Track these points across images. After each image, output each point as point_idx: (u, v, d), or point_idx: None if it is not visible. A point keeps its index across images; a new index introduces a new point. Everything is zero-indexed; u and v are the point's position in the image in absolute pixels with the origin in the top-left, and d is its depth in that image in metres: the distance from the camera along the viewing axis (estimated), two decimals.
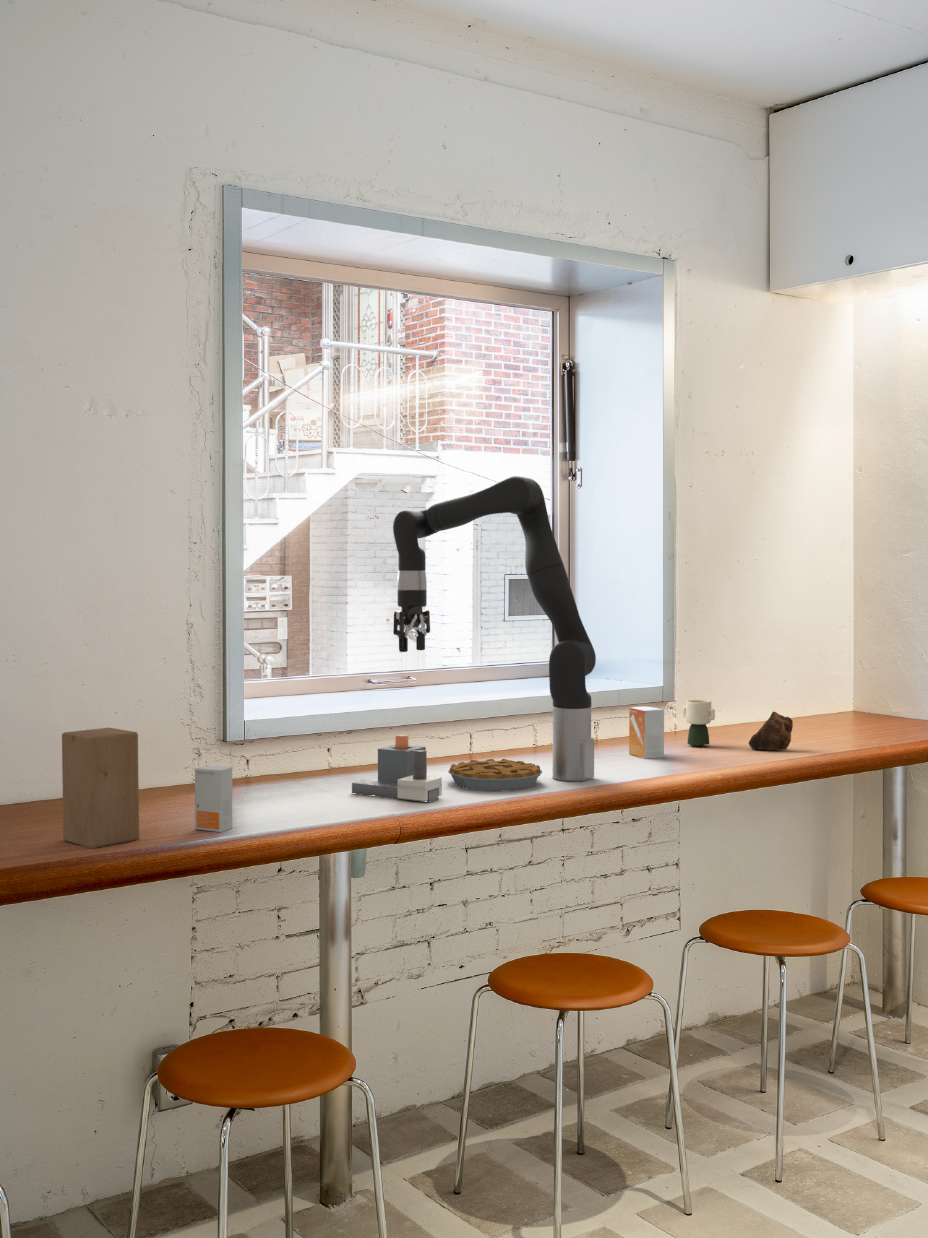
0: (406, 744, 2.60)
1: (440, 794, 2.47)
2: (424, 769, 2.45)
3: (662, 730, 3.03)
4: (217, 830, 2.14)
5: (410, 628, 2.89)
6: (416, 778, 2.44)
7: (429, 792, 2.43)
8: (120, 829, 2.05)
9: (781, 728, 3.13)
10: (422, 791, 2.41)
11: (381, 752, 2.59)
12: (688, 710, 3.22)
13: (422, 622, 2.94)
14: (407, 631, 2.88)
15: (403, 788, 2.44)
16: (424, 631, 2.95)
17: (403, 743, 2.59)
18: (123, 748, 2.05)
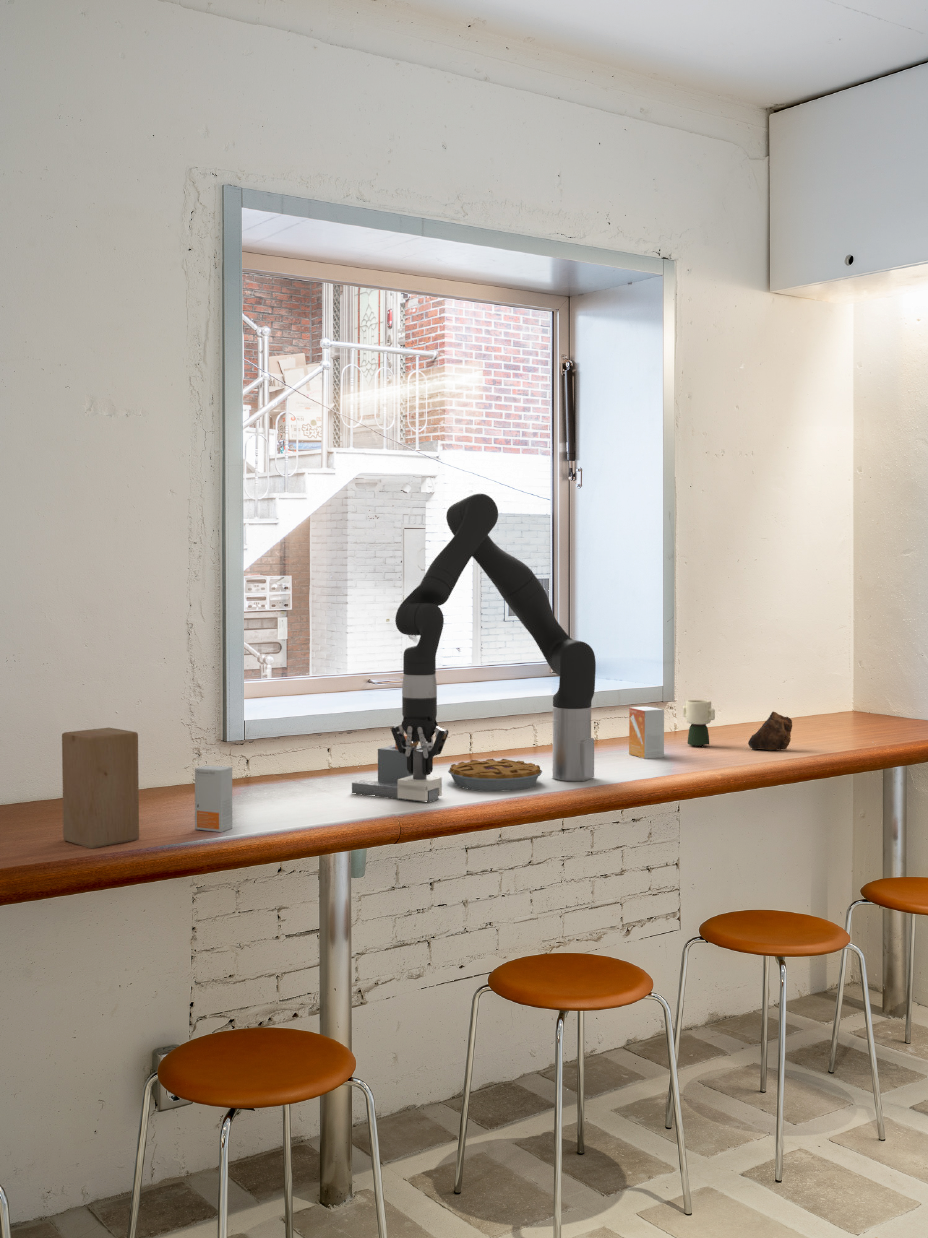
0: None
1: (440, 794, 2.47)
2: None
3: (661, 730, 3.03)
4: (217, 830, 2.14)
5: None
6: (416, 778, 2.44)
7: (429, 792, 2.43)
8: (120, 829, 2.05)
9: (780, 728, 3.14)
10: (422, 791, 2.41)
11: (381, 752, 2.59)
12: (688, 710, 3.22)
13: None
14: None
15: (403, 788, 2.44)
16: None
17: None
18: (123, 748, 2.05)
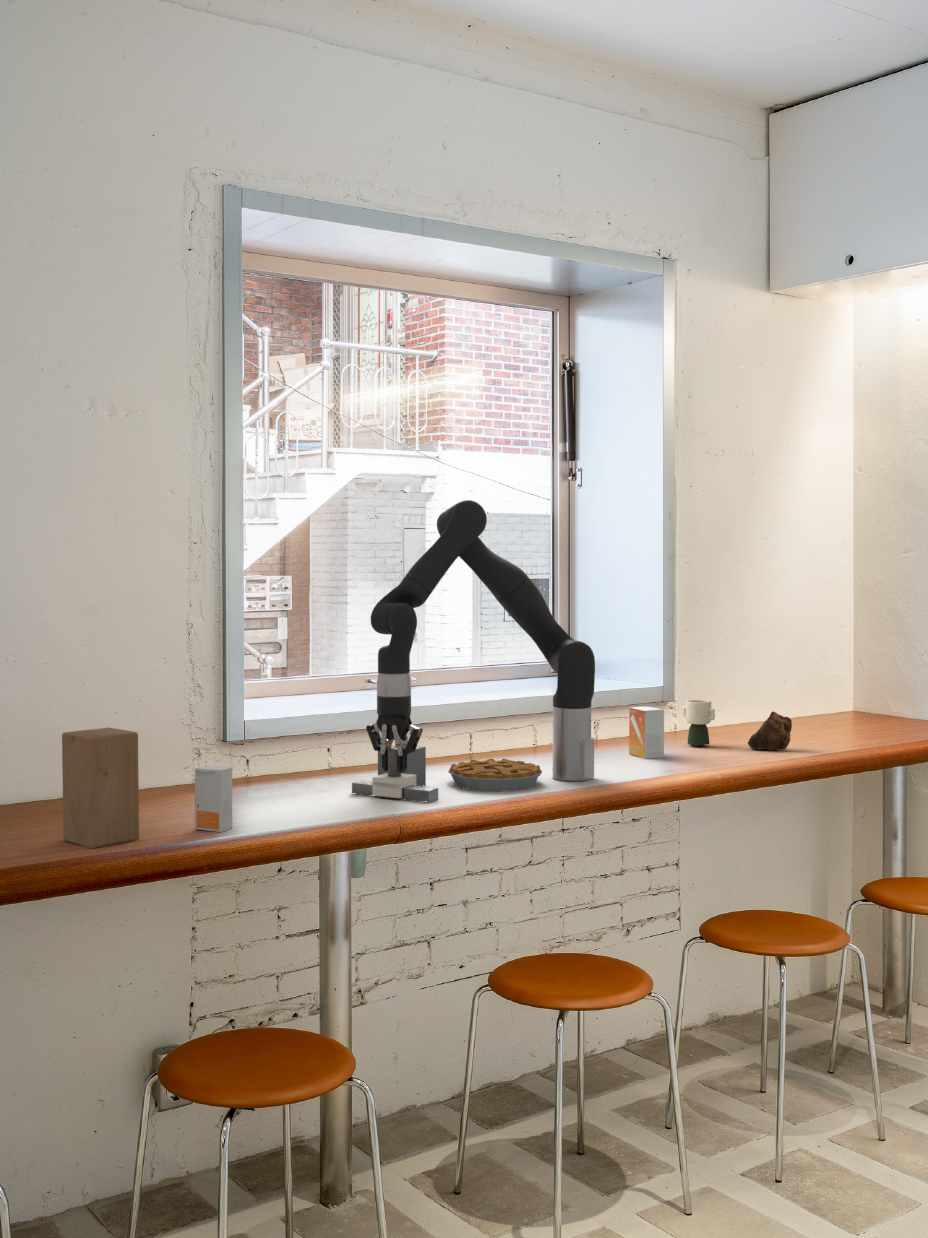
0: None
1: None
2: None
3: (661, 730, 3.03)
4: (217, 830, 2.14)
5: None
6: (391, 775, 2.48)
7: (429, 792, 2.43)
8: (120, 829, 2.05)
9: (780, 727, 3.14)
10: (396, 788, 2.45)
11: None
12: (688, 710, 3.22)
13: None
14: None
15: (378, 785, 2.47)
16: None
17: None
18: (124, 748, 2.05)
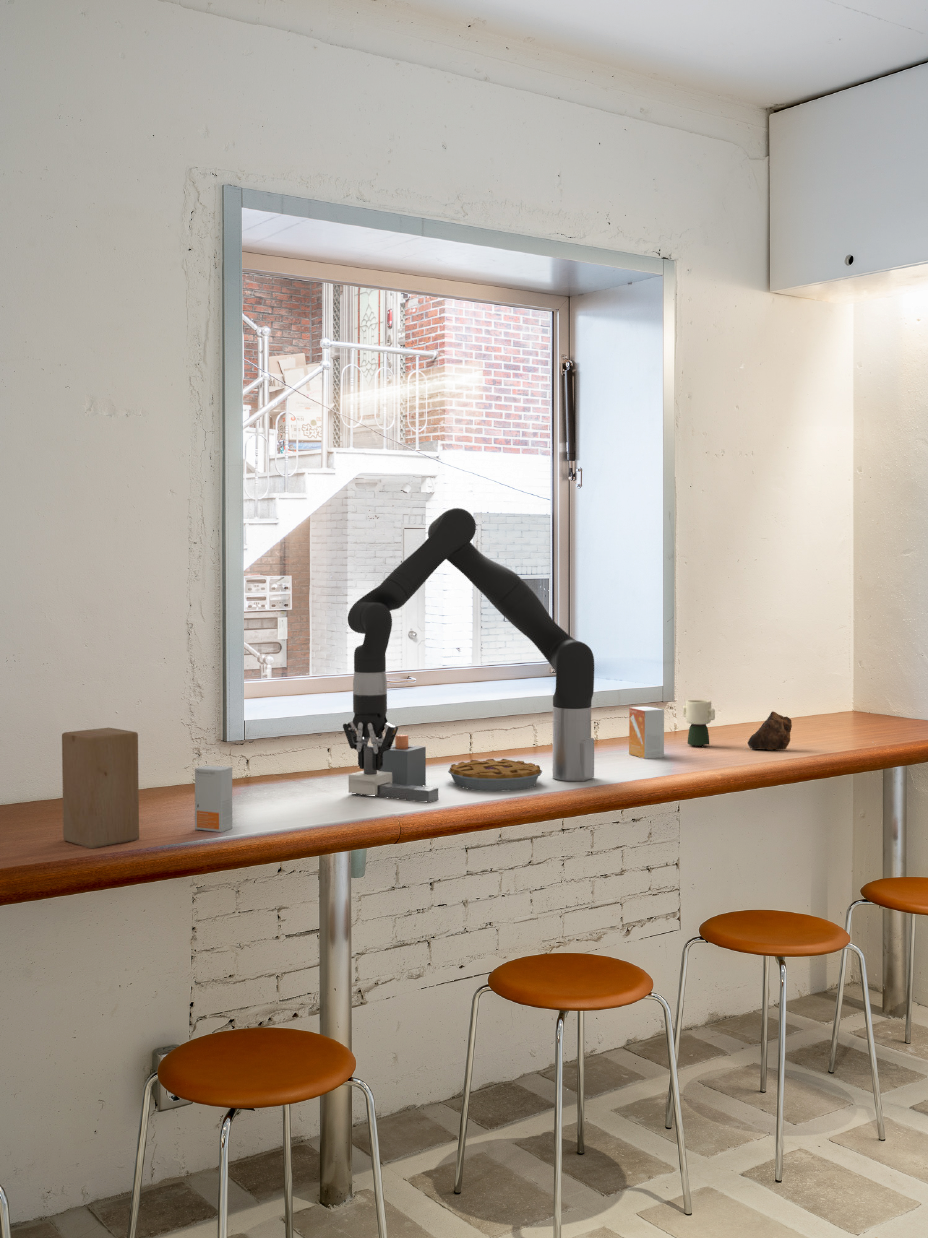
0: (406, 744, 2.60)
1: None
2: None
3: (662, 730, 3.03)
4: (217, 830, 2.14)
5: None
6: (367, 773, 2.51)
7: (429, 792, 2.43)
8: (120, 829, 2.05)
9: (780, 727, 3.14)
10: (372, 785, 2.48)
11: None
12: (688, 710, 3.22)
13: None
14: None
15: (354, 783, 2.50)
16: None
17: (403, 743, 2.59)
18: (123, 748, 2.05)
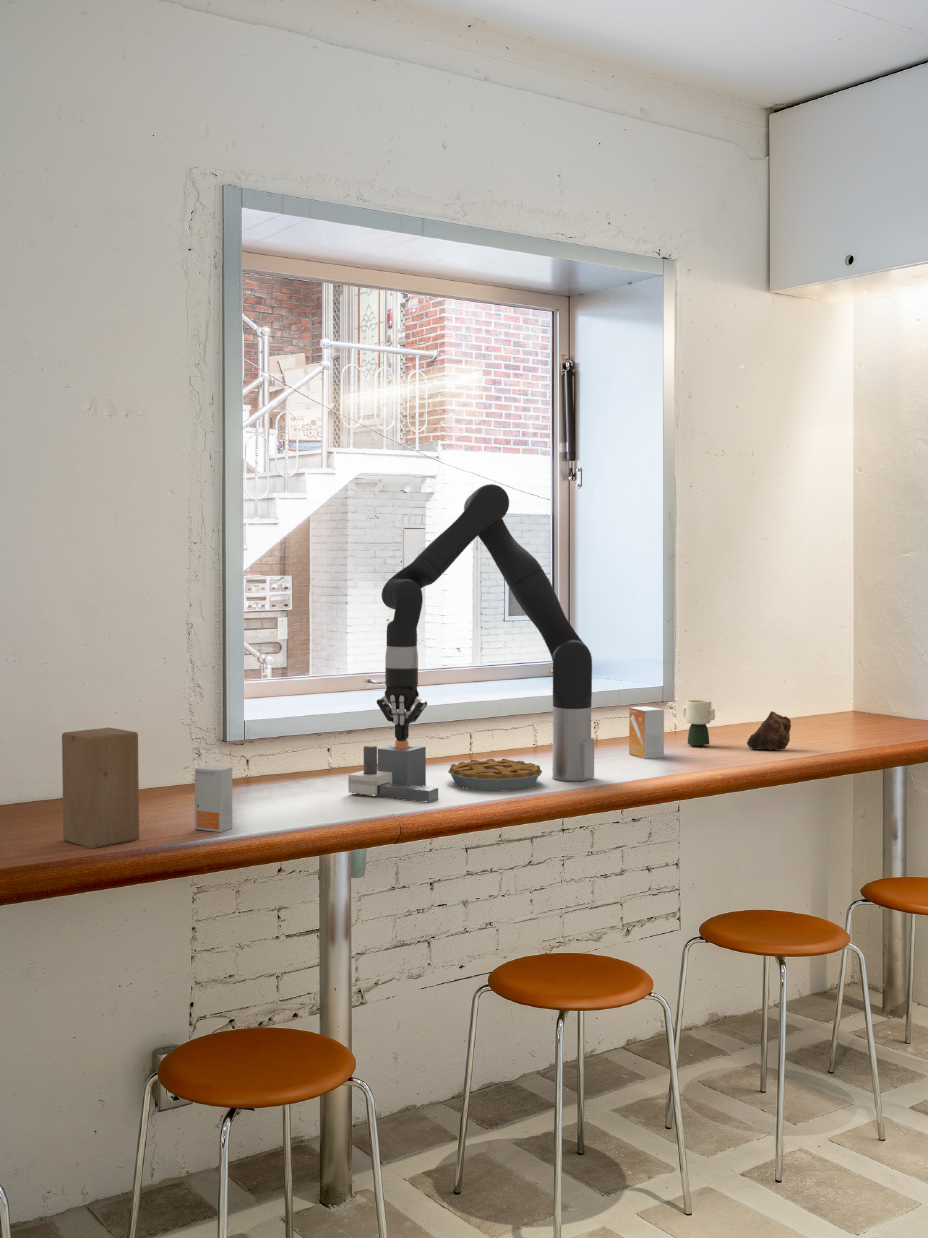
0: None
1: None
2: (374, 764, 2.51)
3: (662, 730, 3.03)
4: (217, 830, 2.14)
5: None
6: (366, 773, 2.51)
7: (429, 792, 2.43)
8: (120, 829, 2.05)
9: (779, 727, 3.14)
10: (372, 785, 2.48)
11: (381, 752, 2.59)
12: (688, 710, 3.22)
13: None
14: None
15: (354, 783, 2.50)
16: None
17: (403, 748, 2.59)
18: (123, 748, 2.05)
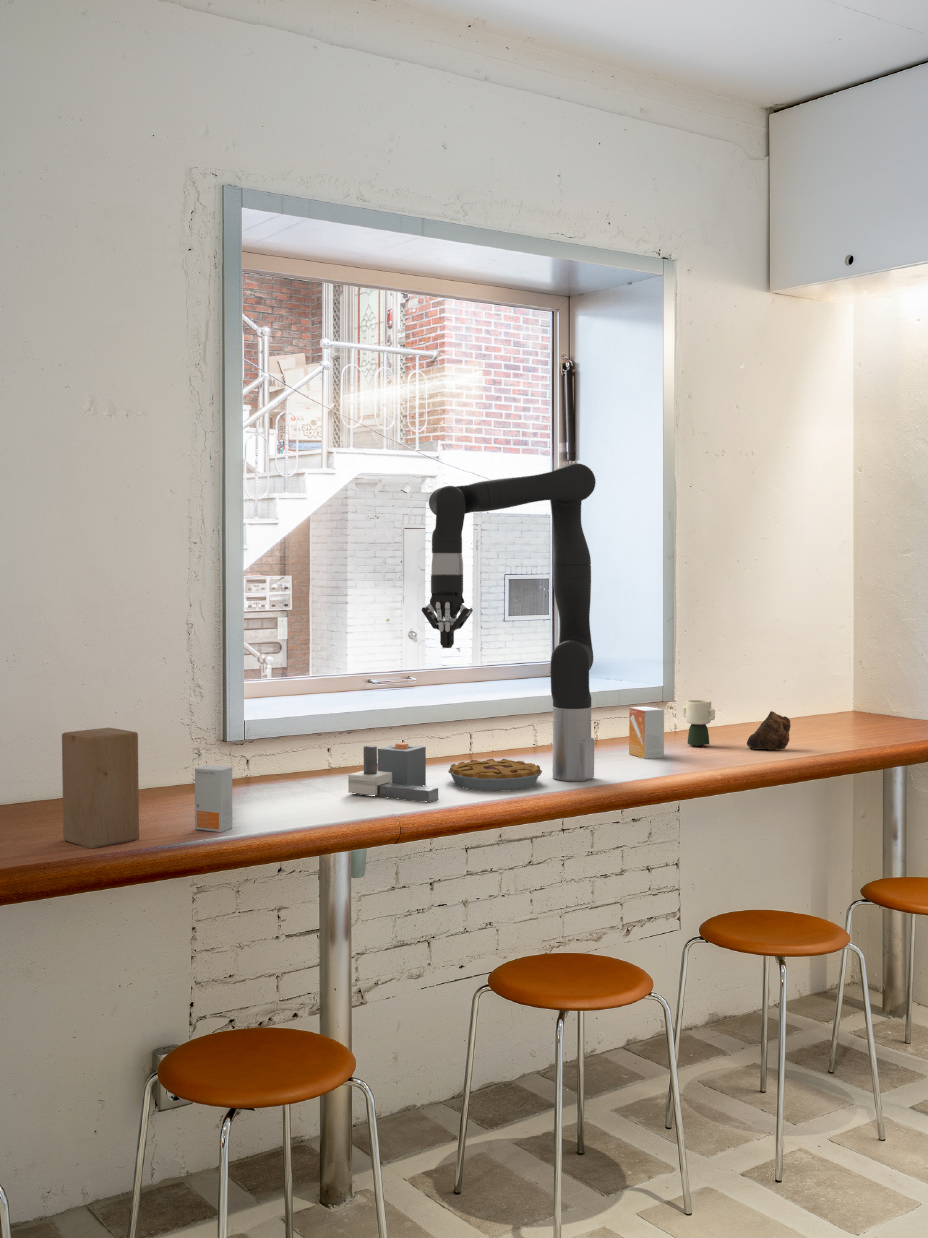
0: None
1: None
2: (374, 764, 2.51)
3: (662, 730, 3.03)
4: (217, 830, 2.14)
5: None
6: (366, 773, 2.51)
7: (429, 792, 2.43)
8: (120, 829, 2.05)
9: (779, 727, 3.14)
10: (372, 785, 2.48)
11: (381, 752, 2.59)
12: (688, 710, 3.22)
13: None
14: None
15: (354, 783, 2.50)
16: None
17: None
18: (123, 748, 2.05)
